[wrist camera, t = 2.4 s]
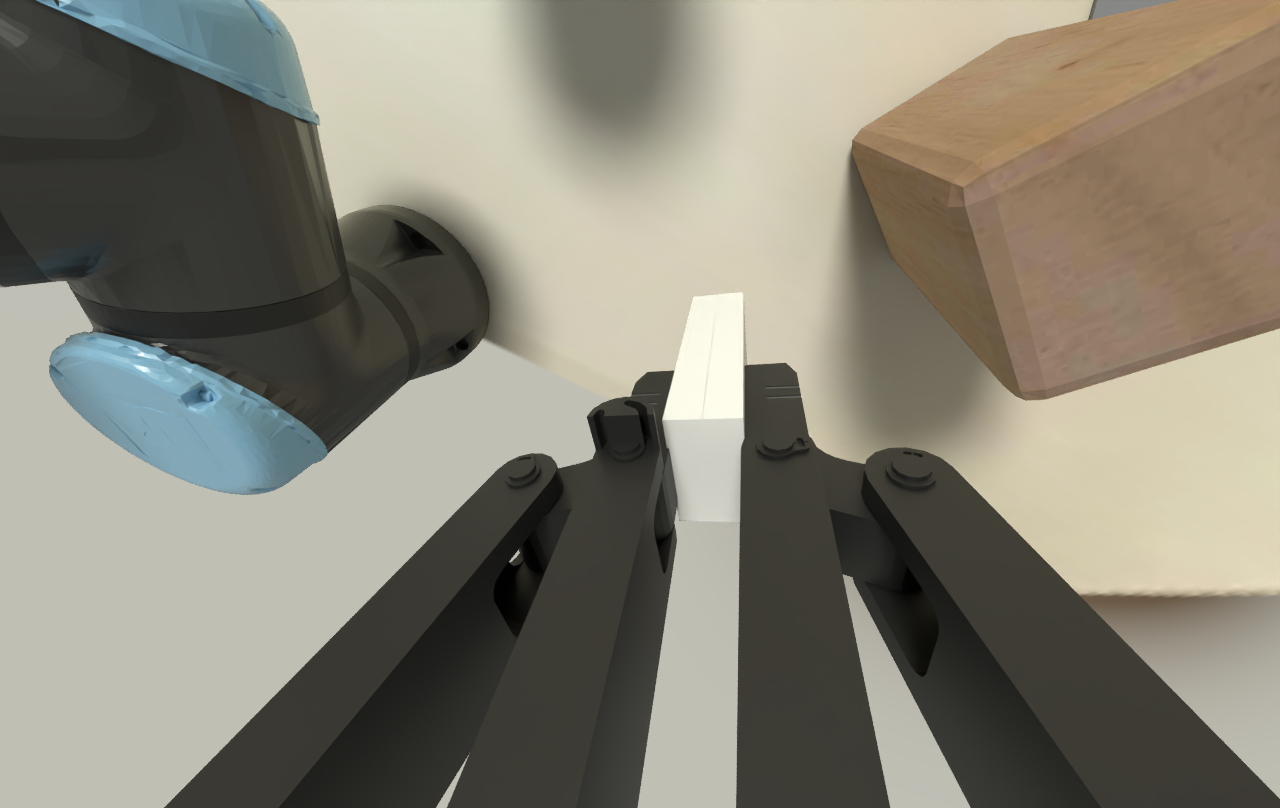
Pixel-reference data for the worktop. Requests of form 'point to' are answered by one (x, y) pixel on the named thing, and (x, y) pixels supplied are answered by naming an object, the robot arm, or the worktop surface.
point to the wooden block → (1093, 192)
